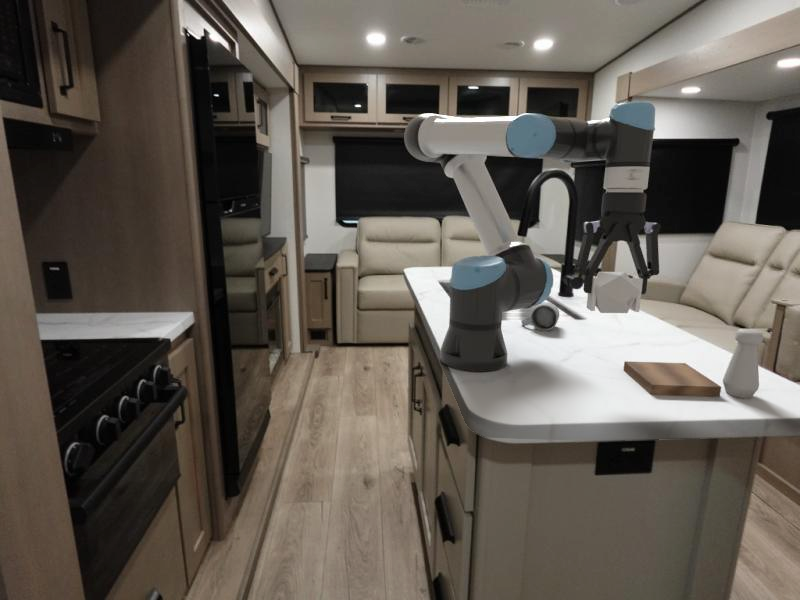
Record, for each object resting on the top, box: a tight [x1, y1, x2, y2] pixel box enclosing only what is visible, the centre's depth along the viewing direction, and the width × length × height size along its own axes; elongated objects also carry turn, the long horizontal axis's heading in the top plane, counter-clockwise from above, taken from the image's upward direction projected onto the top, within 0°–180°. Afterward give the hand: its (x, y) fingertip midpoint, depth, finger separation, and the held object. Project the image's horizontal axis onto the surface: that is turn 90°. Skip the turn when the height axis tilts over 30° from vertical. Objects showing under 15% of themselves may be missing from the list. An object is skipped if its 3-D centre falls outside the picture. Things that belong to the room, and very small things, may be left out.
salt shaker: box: [722, 328, 764, 399], centre depth 93 cm, size 6×6×13 cm
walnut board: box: [623, 361, 722, 398], centre depth 99 cm, size 13×13×2 cm
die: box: [594, 271, 640, 314], centre depth 95 cm, size 8×9×10 cm
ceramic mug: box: [521, 301, 560, 332], centre depth 139 cm, size 10×8×7 cm
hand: (612, 309), depth 95 cm, fingers closed on die, 8 cm apart
